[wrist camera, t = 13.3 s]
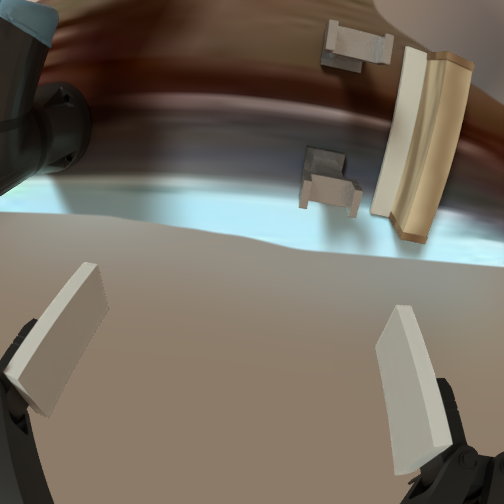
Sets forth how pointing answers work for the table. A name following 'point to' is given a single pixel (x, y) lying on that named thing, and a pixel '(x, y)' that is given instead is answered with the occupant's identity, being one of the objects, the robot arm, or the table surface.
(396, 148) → the mat
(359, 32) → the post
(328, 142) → the table surface
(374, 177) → the table surface
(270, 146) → the table surface
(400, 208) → the rail
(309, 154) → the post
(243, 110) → the table surface
